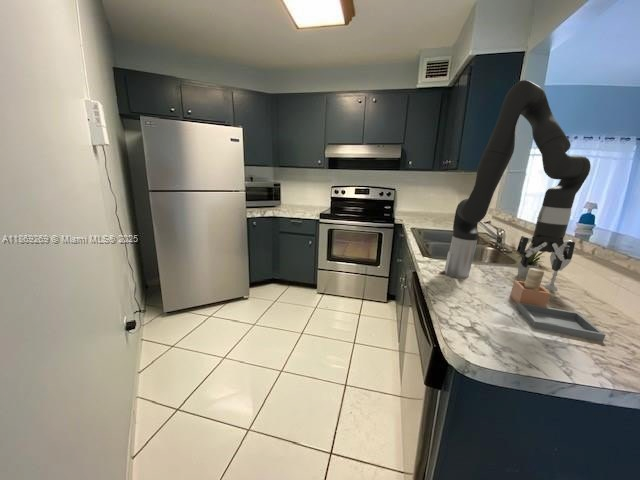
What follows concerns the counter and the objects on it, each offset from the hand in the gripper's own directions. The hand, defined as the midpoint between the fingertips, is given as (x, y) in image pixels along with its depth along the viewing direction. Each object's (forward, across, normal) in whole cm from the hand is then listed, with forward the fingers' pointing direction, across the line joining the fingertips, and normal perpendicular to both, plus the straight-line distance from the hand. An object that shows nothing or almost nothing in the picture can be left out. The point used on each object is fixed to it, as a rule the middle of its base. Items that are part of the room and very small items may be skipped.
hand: (539, 268), depth 86 cm
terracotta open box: (+14, -1, -1) cm, 14 cm away
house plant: (+14, +11, +33) cm, 38 cm away
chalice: (+14, +14, +18) cm, 27 cm away
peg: (+13, -1, -1) cm, 13 cm away
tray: (+14, +1, -13) cm, 19 cm away
